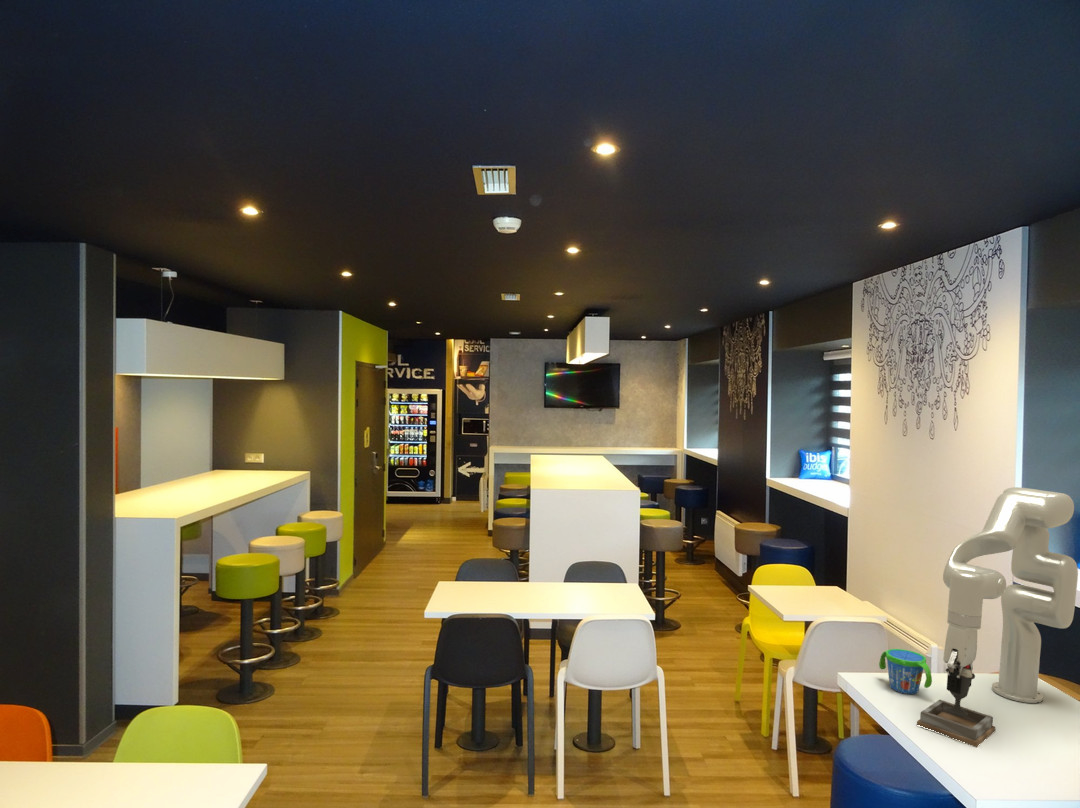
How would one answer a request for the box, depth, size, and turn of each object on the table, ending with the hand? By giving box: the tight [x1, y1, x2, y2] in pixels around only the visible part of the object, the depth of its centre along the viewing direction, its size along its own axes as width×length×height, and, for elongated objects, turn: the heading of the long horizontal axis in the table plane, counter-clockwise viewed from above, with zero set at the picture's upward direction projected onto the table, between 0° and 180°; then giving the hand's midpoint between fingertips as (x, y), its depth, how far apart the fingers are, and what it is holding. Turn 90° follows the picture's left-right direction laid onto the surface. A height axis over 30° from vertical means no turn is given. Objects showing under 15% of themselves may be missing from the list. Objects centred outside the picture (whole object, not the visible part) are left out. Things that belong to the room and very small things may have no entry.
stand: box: [916, 699, 997, 748], centre depth 195 cm, size 14×14×4 cm
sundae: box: [945, 662, 976, 716], centre depth 195 cm, size 7×7×15 cm
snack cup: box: [878, 648, 933, 695], centre depth 219 cm, size 16×10×10 cm
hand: (958, 687), depth 195 cm, fingers closed on sundae, 6 cm apart
